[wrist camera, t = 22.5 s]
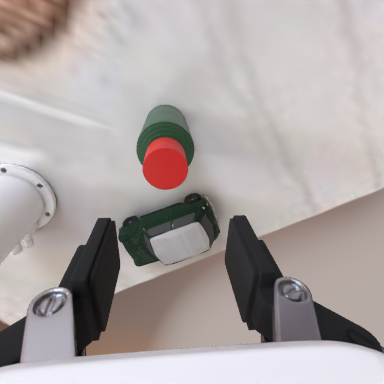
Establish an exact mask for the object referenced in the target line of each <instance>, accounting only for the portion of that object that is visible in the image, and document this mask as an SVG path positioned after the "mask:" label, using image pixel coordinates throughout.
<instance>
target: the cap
mask: <svg viewBox="0 0 384 384" xmlns="http://www.w3.org/2000/svg"><path fill="white" fill-rule="evenodd" d="M187 173H188V164H187V160H186V155H185V151H184V149H183V147H182V145H181V144H180V143H179V142H178V141H176V140H174V139H172V138H167V137H163V138H158V139H156V140H154V141H153V142H152V143H151V144H150V145H149V146H148V148H147V151H146V154H145V158H144V163H143V174H144V177H145V178H146V180H147V181H148V182H149V183H150V184H151V185H152V186H154V187H156V188H158V189H164V190H168V189H173V188H175V187H177V186H179V185H180V184H181V183H182V182H183V181H184V180H185V178H186V176H187Z"/></svg>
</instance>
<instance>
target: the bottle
mask: <svg viewBox="0 0 384 384" xmlns="http://www.w3.org/2000/svg"><path fill="white" fill-rule="evenodd" d="M163 137H167V138H172V139H174V140H176V141H178V142H179V143H180V144H181V145H182V147H183V149H184V151H185V155H186V160H187V164H188V166H189V165H190V163H191V161H192V159H193V156H194V143H193V140H192V137H191V135H190V132H189V129H188V126H187V123H186V121H185V118H184V116H183V114H182V113H181V112H180V111H179V110H178V109H177V108H175V107H173V106H170V105H160V106H157V107H155V108H154V109H153V110H151V112H150V113H149V114H148V116H147V119H146V121H145V124H144V126H143V129H142V131H141V134H140V136H139V139H138V142H137V155H138V158H139V161H140V163H141V164H142V165H143V163H144V158H145V154H146V151H147V148H148V146H149V145H150V144H151V143H152V142H153V141H154V140H156V139H158V138H163Z"/></svg>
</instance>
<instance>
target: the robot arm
mask: <svg viewBox="0 0 384 384" xmlns="http://www.w3.org/2000/svg"><path fill="white" fill-rule="evenodd" d="M55 210H56V198H55V195H54V193H53V190H52V189H51V187H50V186H49V184H48V183H47V182H46V181H45V180H44V179H43V178H42V177H41V176H39V175H38V174H37V173H35V172H33V171H31V170H29V169H27V168H25V167H22V166H18V165H13V164H0V264H1V263H2V262H3V261H4V259H5V258H6V257H7V256H8V255H9V254H12V255H15V254H18V253H20V252H21V251H22V250H23V248H22V246H21V243H20V241H21V239H22V238H23V242H24V245H25V247H26V248H29V247H32V246H33V245H34V242H33V239H32V238H31V234H32V233H33V231H34V230H36V229H39V228H41V227H43V226H45V225H46V224H47V223H48V222H49V221H50V220H51V218H52V217H53V215H54V213H55ZM225 265H226V268H227V272H228V275H229V278H230V282H231V285H232V289H233V292H234V295H235V299H236V302H237V305H238V308H239V312H240V315H241V319H242V321H243V322H246V323H247V326H248V329H249V330H256V331H257V332H259V333H260V334H261V343H255V344H240V345H225V346H211V347H197V348H185V349H170V350H156V351H143V352H130V353H117V354H105V355H92V356H86V346H87V345H89V344H90V343H91V342H92V341H96V340H99V337H100V333H101V332H102V331H105V330H106V326H107V321H108V317H109V313H110V308H111V304H112V300H113V296H114V291H115V287H116V283H117V279H118V274H119V270H120V257H119V249H118V241H117V233H116V225H115V221H111V218H98V220H97V222H96V224H95V226H94V228H93V230H92V233H91V235H90V237H89V239H88V241H87V244H86V245H80V246H79V247H78V248H77V250H76V252H75V254H74V256H73V258H72V260H71V262H70V264H69V266H68V268H67V270H66V272H65V274H64V276H63V278H62V280H61V282H60V284H59V287H55V288H51V289H48V290H45V291H43V292H42V293H40V294H38V295H37V296H36V297H35V298H34V299H33V300H32V301H31V303H30V304H29V306H28V309H27V316H25V317H24V318H22V319H21V320H19V321H17V322H16V323H14V324H12V325H11V326H9V327H8V328H6V329H4V330H3V331H1V332H0V384H384V348H383V347H382V346H381V345H380V343H379V342H378V341H377V339H376V338H375V337H374V336H373V335H372V334H371V333H370V332H368V331H367V330H366V329H364V328H362V327H361V326H359V325H357V324H355V323H353V322H351V321H350V320H348V319H346V318H344V317H342V316H340V315H338V314H337V313H335V312H333V311H331V310H329V309H327V308H325V307H323V306H322V305H320V304H318V303H316V302H314V301H313V300H312V295H311V292H310V290H309V289H308V287H307V286H306V285H305V284H304V283H302V282H301V281H299V280H297V279H294V278H291V277H283V275H282V273H281V272H280V270H279V268H278V266H277V264H276V263H275V261H274V259H273V257H272V255H271V254H270V252H269V250H268V248H267V246H266V245H265V243H264V242H263V240H258V238H257V236H256V235H255V233H254V231H253V229H252V227H251V225H250V223H249V221H248V220H247V218H246V216H245V215H242V216H234V217H233V218H231V219H230V222H229V230H228V237H227V245H226V253H225Z"/></svg>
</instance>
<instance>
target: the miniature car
mask: <svg viewBox="0 0 384 384" xmlns="http://www.w3.org/2000/svg"><path fill="white" fill-rule="evenodd" d="M204 197H206V199H207V200H208V202H207V201H206V200H205V199H201V197H200V195H199V194H197V193H194V194H190V195H188V196H187V197H185V201H184V202H185V203H177V204H174V205H172V206H169V207H166V208H163V209H160V210H158V211H155V212H152V213H149V214H147V215H144V216H141V218H140V217H139V218H140V219H139V218H137V217H136V216H132V217H129V218H127V219H126V220H125V221H124V222H123V227H120V228H119V236H118V238H119V241H120V242H122V243H123V245H124V247H125V249H126V251H127V252H128V253H129V254H130V256H131V257H132V258H133V260H134V263H135V265H136V266H143V265H146V264H149V263H153V262H156V261H160V262H162V263H163V264H164V265H170V264H175V263H177V262H180V261H183V260H186V259H188V258H191V257H194V256H197V255H199V254H201V253H204V252H206V251H208V250H209V249H210V247H211V245H212V243H213V241H214V240H216V239H217V237H218V234H219V233H220V230H219V221H218V218H217V215H216V212H215V210H214V208H213V205H212V203H211V202H210V201H209V199H208V197H207V196H205V195H204ZM210 205H211V206H210Z"/></svg>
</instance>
